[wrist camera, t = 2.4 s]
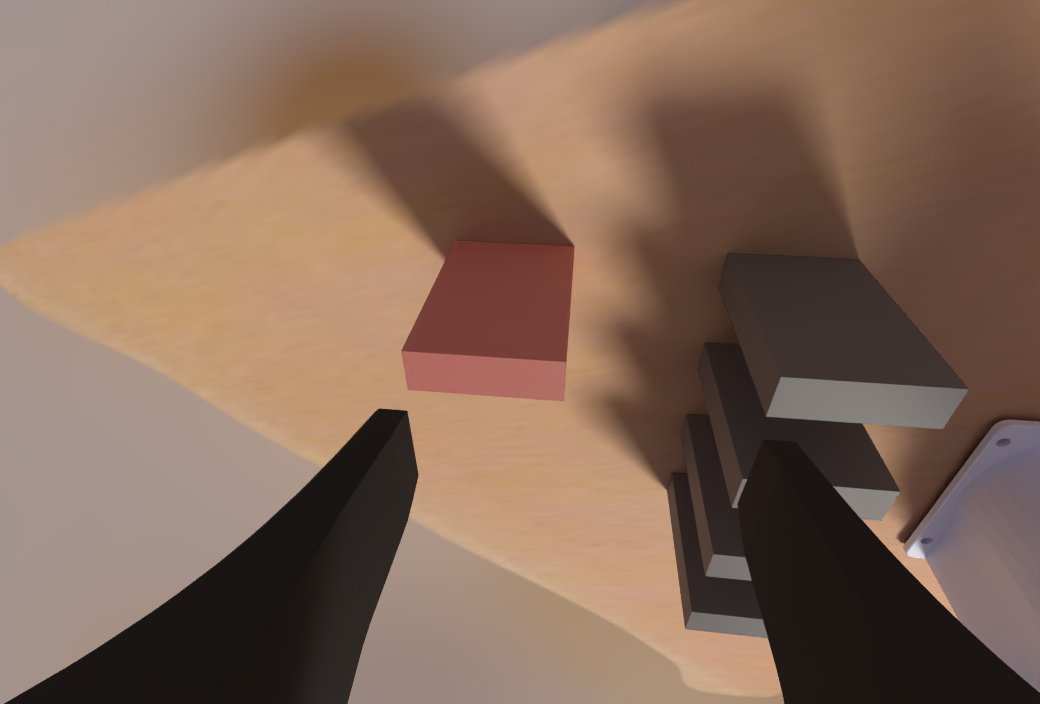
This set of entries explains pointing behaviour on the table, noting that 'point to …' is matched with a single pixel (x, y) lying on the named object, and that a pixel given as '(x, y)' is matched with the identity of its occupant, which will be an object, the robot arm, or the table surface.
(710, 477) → the domino
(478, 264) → the red domino
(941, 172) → the table surface
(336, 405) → the table surface
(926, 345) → the domino
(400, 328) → the table surface
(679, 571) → the domino
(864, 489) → the domino
